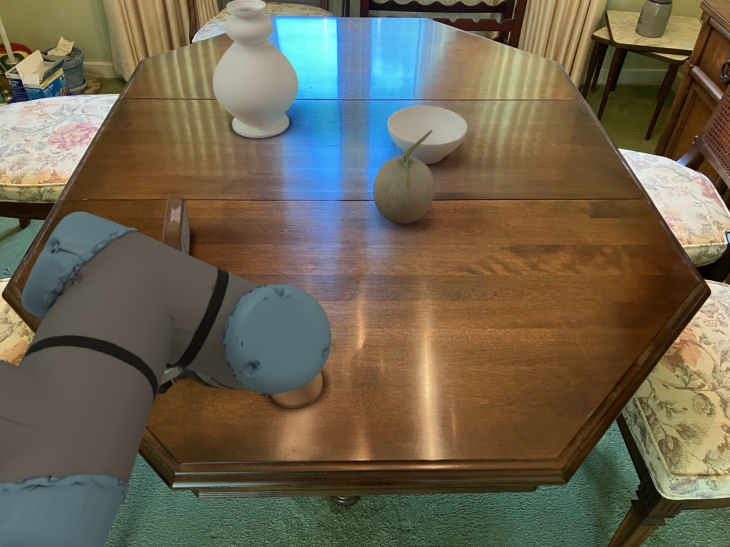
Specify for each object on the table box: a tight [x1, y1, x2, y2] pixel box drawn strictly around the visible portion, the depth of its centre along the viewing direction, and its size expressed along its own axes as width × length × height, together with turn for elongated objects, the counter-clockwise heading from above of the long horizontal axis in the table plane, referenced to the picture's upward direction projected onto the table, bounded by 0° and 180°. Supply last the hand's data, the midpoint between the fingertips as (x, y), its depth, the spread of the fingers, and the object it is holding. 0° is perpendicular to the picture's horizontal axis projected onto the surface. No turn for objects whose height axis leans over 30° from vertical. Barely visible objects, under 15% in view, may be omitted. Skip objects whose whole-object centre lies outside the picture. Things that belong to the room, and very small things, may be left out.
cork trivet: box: [269, 372, 324, 409], centre depth 72 cm, size 7×7×1 cm
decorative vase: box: [212, 0, 299, 139], centre depth 114 cm, size 18×18×25 cm
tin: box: [162, 196, 191, 255], centre depth 88 cm, size 15×3×8 cm, turn 10°
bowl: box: [387, 105, 469, 165], centre depth 112 cm, size 16×16×7 cm
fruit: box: [372, 130, 435, 225], centre depth 94 cm, size 10×12×15 cm
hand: (179, 354), depth 70 cm, fingers closed
